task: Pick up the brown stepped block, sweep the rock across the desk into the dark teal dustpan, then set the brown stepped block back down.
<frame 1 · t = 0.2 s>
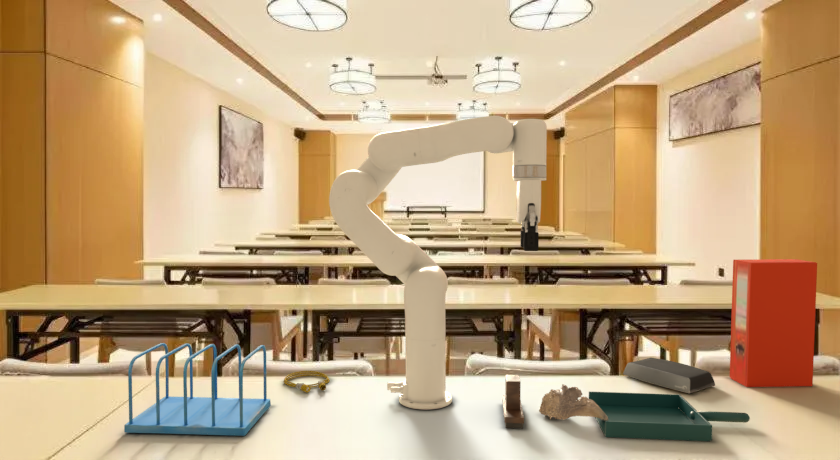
hand: (529, 249, 134), 36 cm above the table, tool pointing down, fingers open, 9 cm apart
file sorter: (202, 420, 127), on the table
gold rope bracelet: (306, 384, 152), on the table
file binder: (770, 383, 153), on the table
hard drive: (667, 382, 154), on the table
brown stepped block: (512, 416, 128), on the table
rock: (572, 419, 127), on the table, touching dustpan
dustpan: (644, 421, 126), on the table
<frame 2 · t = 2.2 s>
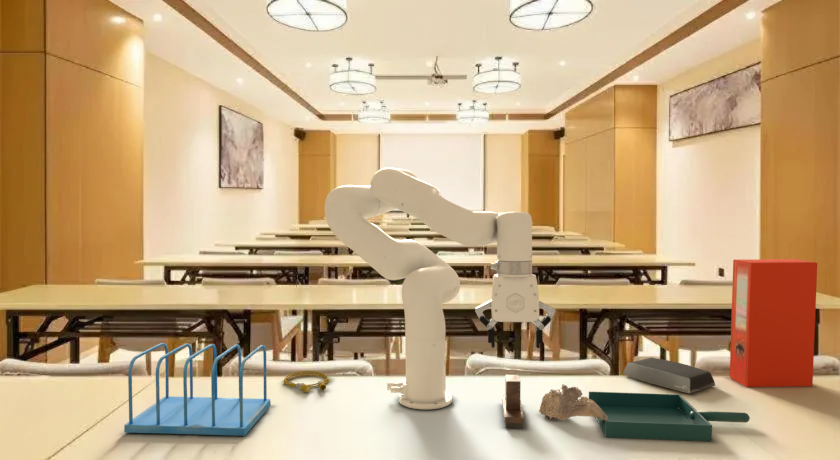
hand: (515, 346, 128), 16 cm above the table, tool pointing down, fingers open, 9 cm apart
nothing on the table moved.
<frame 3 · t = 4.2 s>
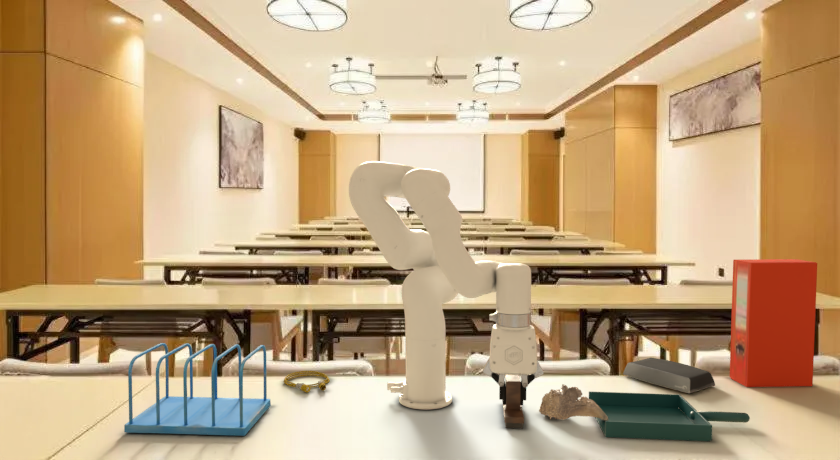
hand: (512, 402, 128), 3 cm above the table, tool pointing down, fingers closed on brown stepped block, 3 cm apart
brown stepped block: (512, 416, 128), on the table, touching gripper
everything else where it was.
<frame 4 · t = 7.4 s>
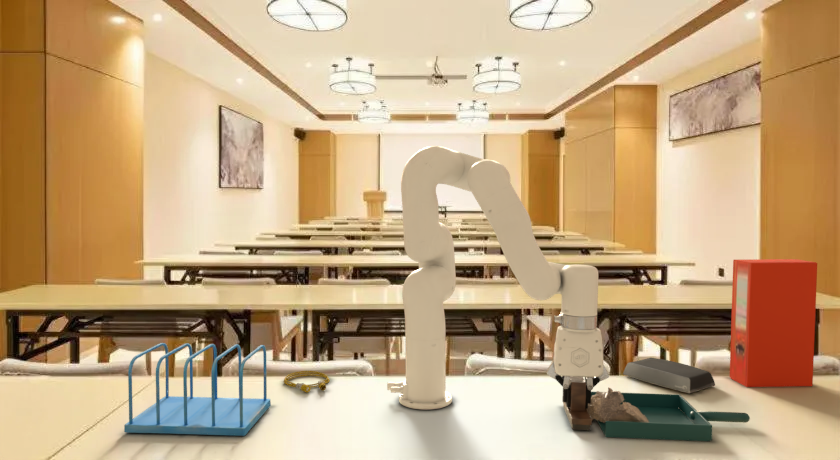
hand: (576, 405, 127), 3 cm above the table, tool pointing down, fingers closed on brown stepped block, 3 cm apart
brown stepped block: (575, 418, 127), on the table, touching rock, gripper
rock: (616, 424, 124), resting on dustpan, touching brown stepped block, gripper
everything else where it was.
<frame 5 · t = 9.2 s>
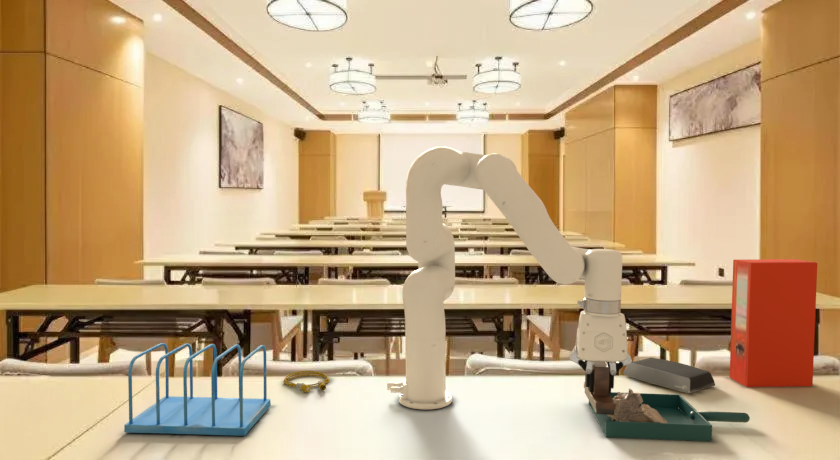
hand: (599, 390, 126), 7 cm above the table, tool pointing down, fingers closed on brown stepped block, 3 cm apart
brown stepped block: (598, 403, 126), point 4 cm above the table, touching gripper
rock: (636, 426, 123), resting on dustpan
everything else where it was.
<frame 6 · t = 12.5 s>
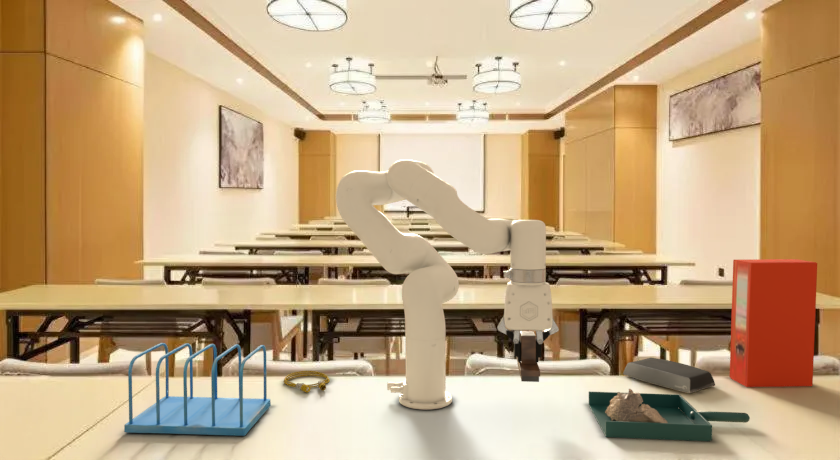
hand: (527, 359, 128), 13 cm above the table, tool pointing down, fingers closed on brown stepped block, 3 cm apart
brown stepped block: (527, 372, 128), point 10 cm above the table, touching gripper
everything else where it was.
when the fingers open (3 cm above the table, at t = 15.0 s): brown stepped block stays where it is, on the table.
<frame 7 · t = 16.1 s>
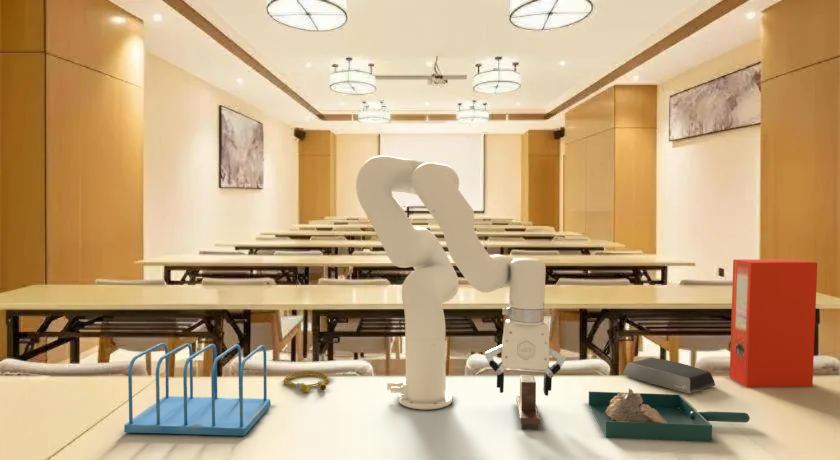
hand: (523, 392, 128), 5 cm above the table, tool pointing down, fingers open, 9 cm apart
brown stepped block: (527, 417, 128), on the table
everything else where it was.
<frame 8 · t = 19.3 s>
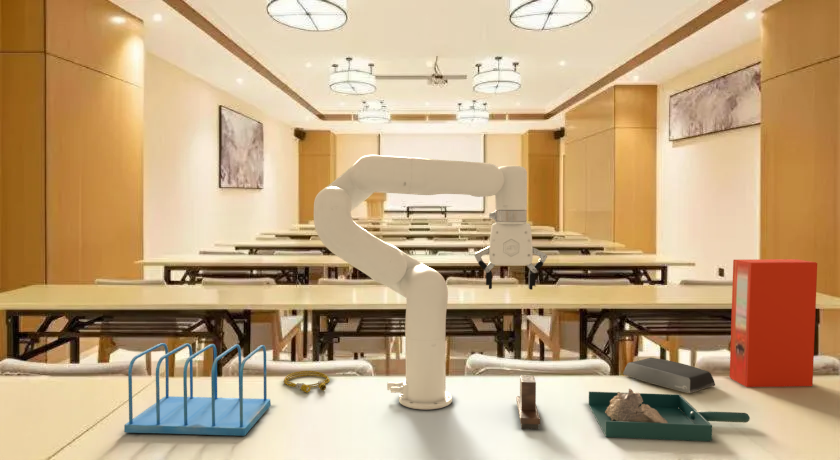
hand: (510, 288, 141), 26 cm above the table, tool pointing down, fingers open, 9 cm apart
nothing on the table moved.
at the end: rock inside the target area on the dustpan (3.7 cm from its centre), point 0.0 cm above the dustpan's base; the gripper is holding nothing; brown stepped block on the table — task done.
